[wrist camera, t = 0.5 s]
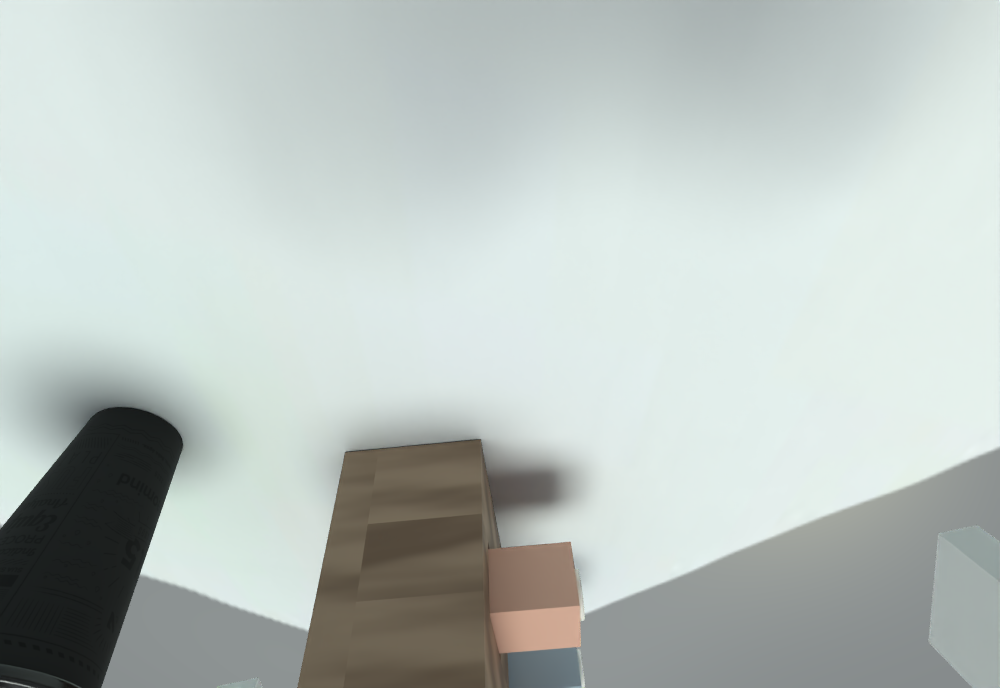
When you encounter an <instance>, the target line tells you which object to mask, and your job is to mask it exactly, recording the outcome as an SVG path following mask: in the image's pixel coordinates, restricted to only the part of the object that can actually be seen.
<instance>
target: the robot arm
mask: <svg viewBox="0 0 1000 688" xmlns="http://www.w3.org/2000/svg"><path fill="white" fill-rule="evenodd" d="M929 643H930V644H931V645H932V646H933V647H934V648H935V649H936V650H937V651H938V652H939V653H940V655H942V656H943V658H944V659H945V660H946V661H947V662H948V663H949V664H950V665H951V666H952V667H953V668H954V669H955V670H956V671H957V672H958V673H959V674H960V675H961V676H962V677H963V678H964V679H965V680H966V681H967V682H968V684H969V685H970V686H971V687H972V688H1000V541H998V540H997V539H995V538H994V537H993V536H991V535H990V534H988V533H987V532H986V531H984V530H983V529H982V528H980V527H979V526H977V525H976V526H971V527H966V528H961V529H957V530H952V531H947V532H943V533H939V534H938V543H937V554H936V566H935V576H934V588H933V598H932V610H931V620H930V632H929ZM217 688H263V687H262V685H261V682H260V680H259V678H254V679H249V680H244V681H239V682H235V683H230V684H225V685H221V686H217Z"/></svg>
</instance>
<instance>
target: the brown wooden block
mask: <svg viewBox="0 0 1000 688" xmlns="http://www.w3.org/2000/svg"><path fill="white" fill-rule="evenodd" d="M496 548H501V545H500V540H499V535H498V529H497V524H496V519H495V513H494V508H493V503H492V497H491V492H490V487H489V481H488V476H487V471H486V465H485V460H484V455H483V449H482V444H481V439H480V440H469V441H459V442H448V443H438V444H427V445H417V446H407V447H396V448H386V449H375V450H365V451H354V452H345V456H344V461H343V466H342V471H341V476H340V481H339V486H338V490H337V495H336V500H335V505H334V510H333V515H332V520H331V525H330V530H329V535H328V540H327V545H326V550H325V554H324V559H323V564H322V569H321V574H320V579H319V584H318V589H317V594H316V599H315V604H314V609H313V614H312V618H311V623H310V628H309V633H308V638H307V643H306V649H305V653H304V658H303V663H302V668H301V673H300V677H299V683H298V687H297V688H509V674H508V653H499V651H498V647H497V643H496V639H495V635H494V631H493V627H492V623H491V619H490V604H489V565H488V549H496Z"/></svg>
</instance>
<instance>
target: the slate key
mask: <svg viewBox="0 0 1000 688" xmlns="http://www.w3.org/2000/svg"><path fill="white" fill-rule="evenodd" d="M508 674H509V688H585V681H584V672H583V664H582V657H581V652H580V649H577V648H576V647H572V648H560V649H547V650H535V651H523V652H511V653H508Z"/></svg>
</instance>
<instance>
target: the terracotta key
mask: <svg viewBox="0 0 1000 688" xmlns="http://www.w3.org/2000/svg"><path fill="white" fill-rule="evenodd" d="M488 565H489V604H490V619H491V623H492V627H493V631H494V635H495V639H496V643H497V647H498V651H499V653H511V652H523V651H535V650H547V649H560V648H572V647H581V639H580V638H581V636H580V621H584V620H585V613H584V603H583V594H582V586H581V580H580V574H579V570H578V569H575V568H574V561H573V555H572V548H571V542H564V543H553V544H541V545H530V546H519V547H508V548H496V549H488Z"/></svg>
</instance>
